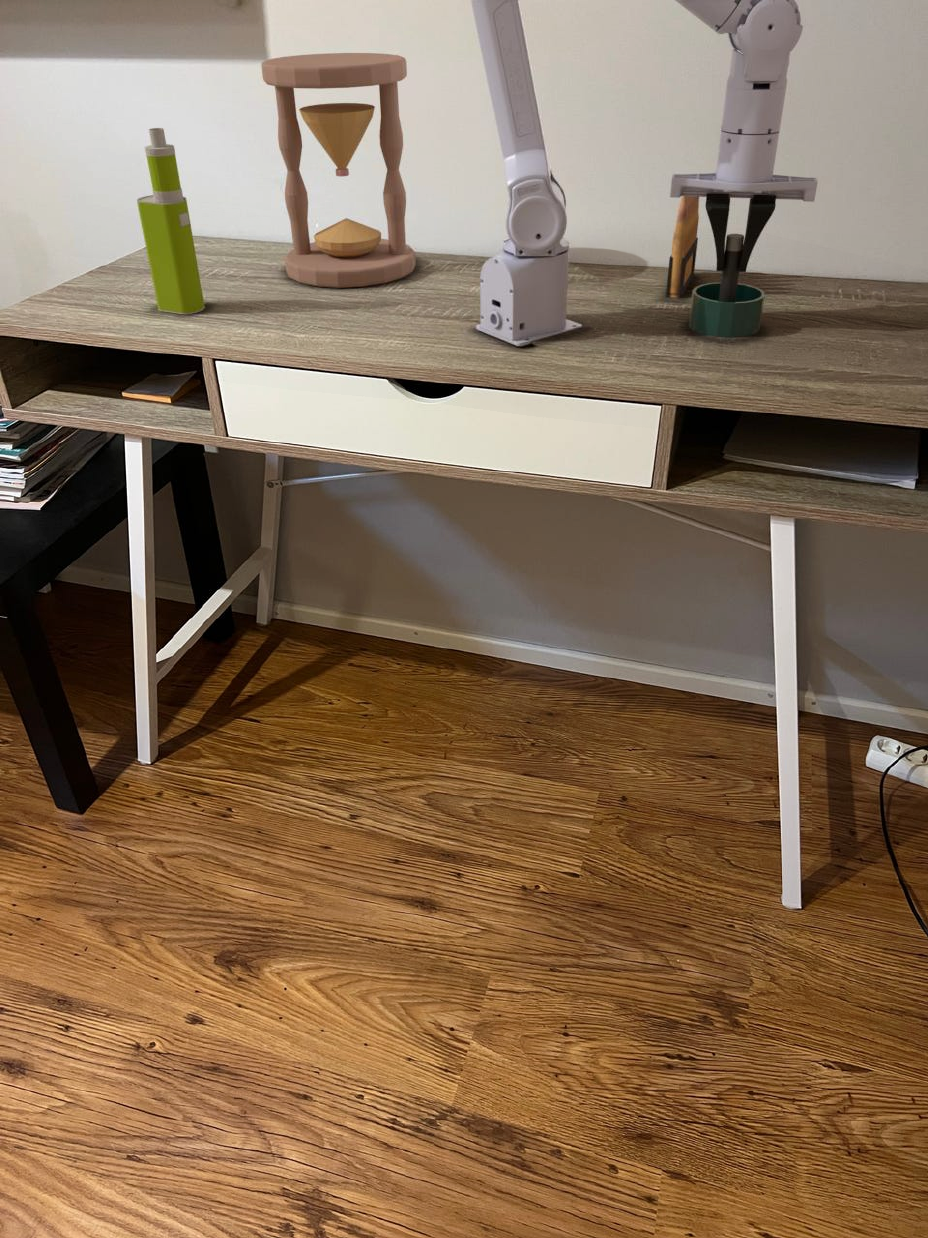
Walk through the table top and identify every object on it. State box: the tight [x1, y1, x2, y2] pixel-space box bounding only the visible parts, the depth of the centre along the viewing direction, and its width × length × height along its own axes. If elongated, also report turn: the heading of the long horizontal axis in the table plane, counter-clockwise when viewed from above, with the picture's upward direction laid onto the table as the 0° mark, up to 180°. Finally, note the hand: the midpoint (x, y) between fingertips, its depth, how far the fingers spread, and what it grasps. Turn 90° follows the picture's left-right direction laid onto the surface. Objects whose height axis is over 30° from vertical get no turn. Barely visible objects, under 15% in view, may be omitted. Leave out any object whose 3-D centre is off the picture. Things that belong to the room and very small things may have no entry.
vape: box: [136, 127, 206, 315], centre depth 114 cm, size 4×6×20 cm, turn 64°
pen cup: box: [688, 281, 766, 339], centre depth 108 cm, size 8×8×4 cm
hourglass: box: [260, 52, 417, 289], centre depth 126 cm, size 18×18×25 cm
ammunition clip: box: [665, 196, 700, 299], centre depth 119 cm, size 11×2×12 cm, turn 160°
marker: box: [718, 233, 745, 302], centre depth 106 cm, size 2×2×8 cm
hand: (731, 269), depth 106 cm, fingers closed on marker, 2 cm apart
